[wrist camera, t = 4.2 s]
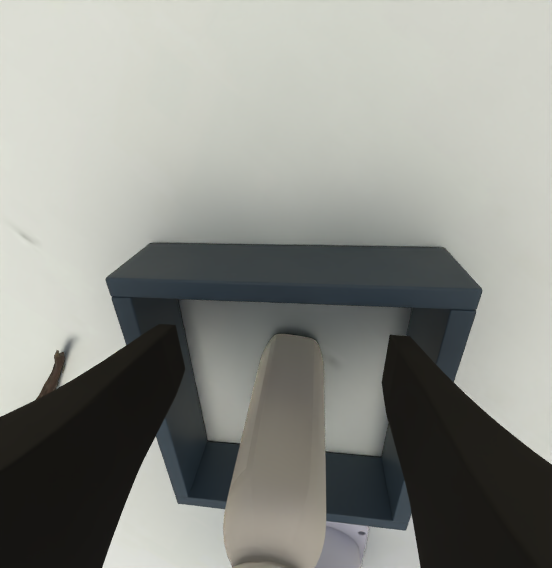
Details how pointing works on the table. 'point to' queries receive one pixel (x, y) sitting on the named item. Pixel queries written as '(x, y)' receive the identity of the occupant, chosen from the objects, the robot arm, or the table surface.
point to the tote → (303, 290)
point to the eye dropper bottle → (281, 463)
